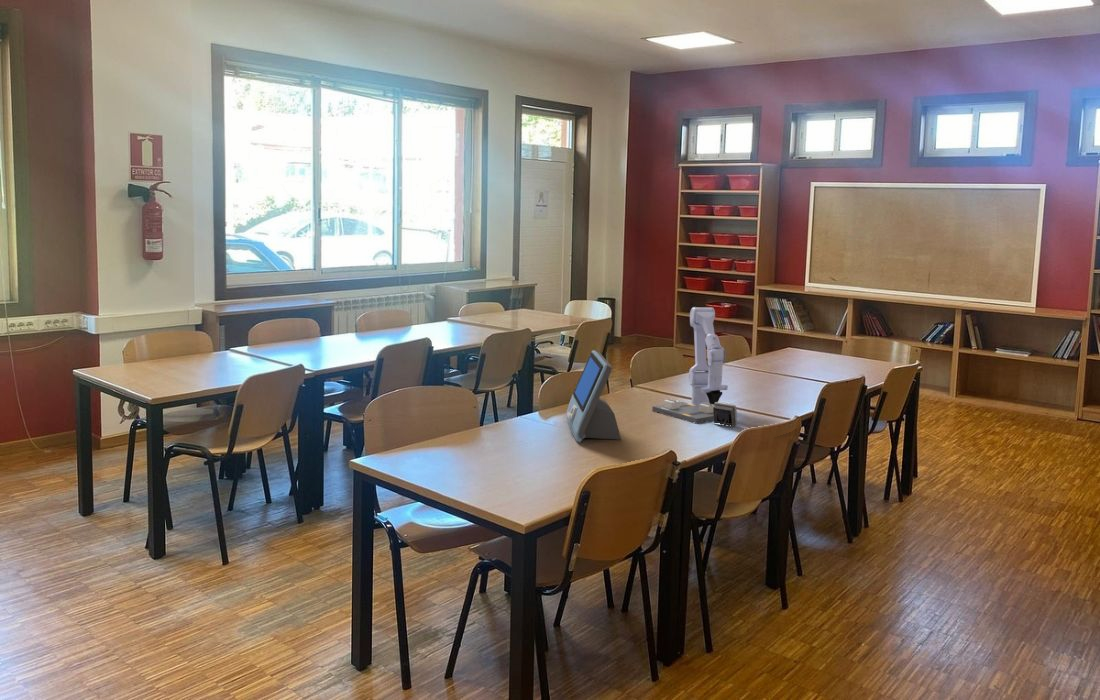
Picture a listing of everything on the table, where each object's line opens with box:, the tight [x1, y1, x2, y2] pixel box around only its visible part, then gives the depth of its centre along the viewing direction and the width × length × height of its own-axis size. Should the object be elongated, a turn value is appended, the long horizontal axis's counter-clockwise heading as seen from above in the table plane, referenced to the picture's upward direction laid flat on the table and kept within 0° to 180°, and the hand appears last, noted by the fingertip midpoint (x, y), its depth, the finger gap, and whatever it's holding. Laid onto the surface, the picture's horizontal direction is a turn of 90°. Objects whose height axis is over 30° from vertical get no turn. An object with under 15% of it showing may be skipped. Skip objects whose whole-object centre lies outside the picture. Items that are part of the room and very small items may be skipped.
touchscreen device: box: [566, 349, 622, 444], centre depth 333 cm, size 35×20×30 cm, turn 5°
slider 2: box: [698, 402, 714, 413], centre depth 365 cm, size 5×5×4 cm
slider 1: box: [662, 398, 681, 410], centre depth 370 cm, size 5×5×4 cm
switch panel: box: [652, 401, 714, 424], centre depth 368 cm, size 18×26×2 cm
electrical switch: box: [713, 401, 738, 427], centre depth 350 cm, size 9×5×9 cm, turn 57°
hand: (713, 408), depth 367 cm, fingers closed
